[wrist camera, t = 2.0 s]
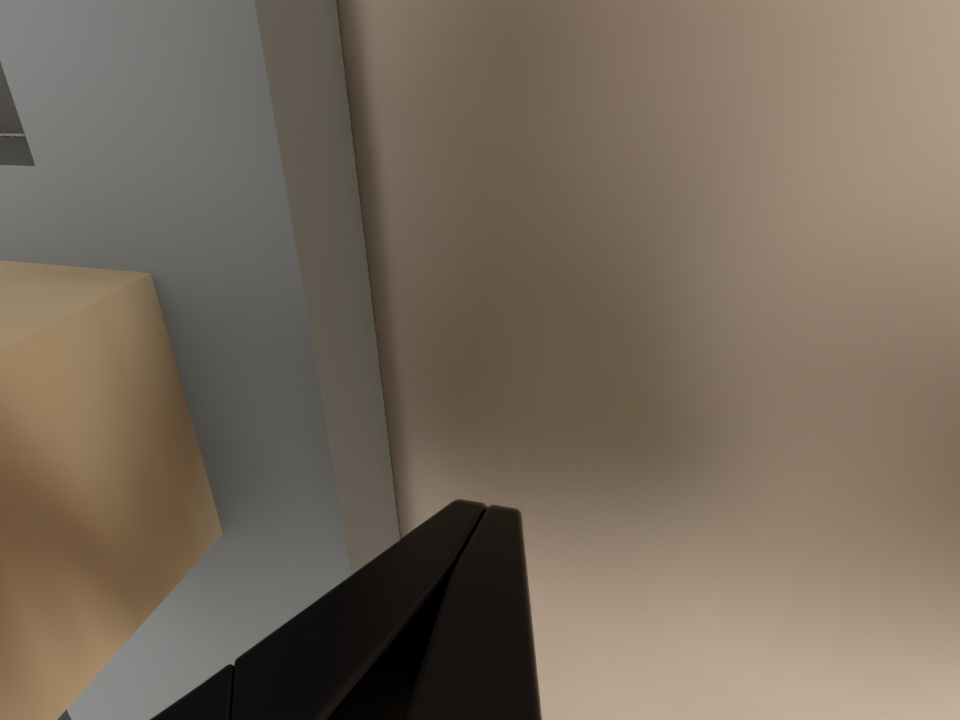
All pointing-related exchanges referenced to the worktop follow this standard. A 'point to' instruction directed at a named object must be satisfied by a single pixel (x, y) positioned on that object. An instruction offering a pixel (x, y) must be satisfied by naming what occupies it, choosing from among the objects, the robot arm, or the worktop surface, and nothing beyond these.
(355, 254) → the board
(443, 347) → the worktop surface
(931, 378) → the worktop surface
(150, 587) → the maple block
